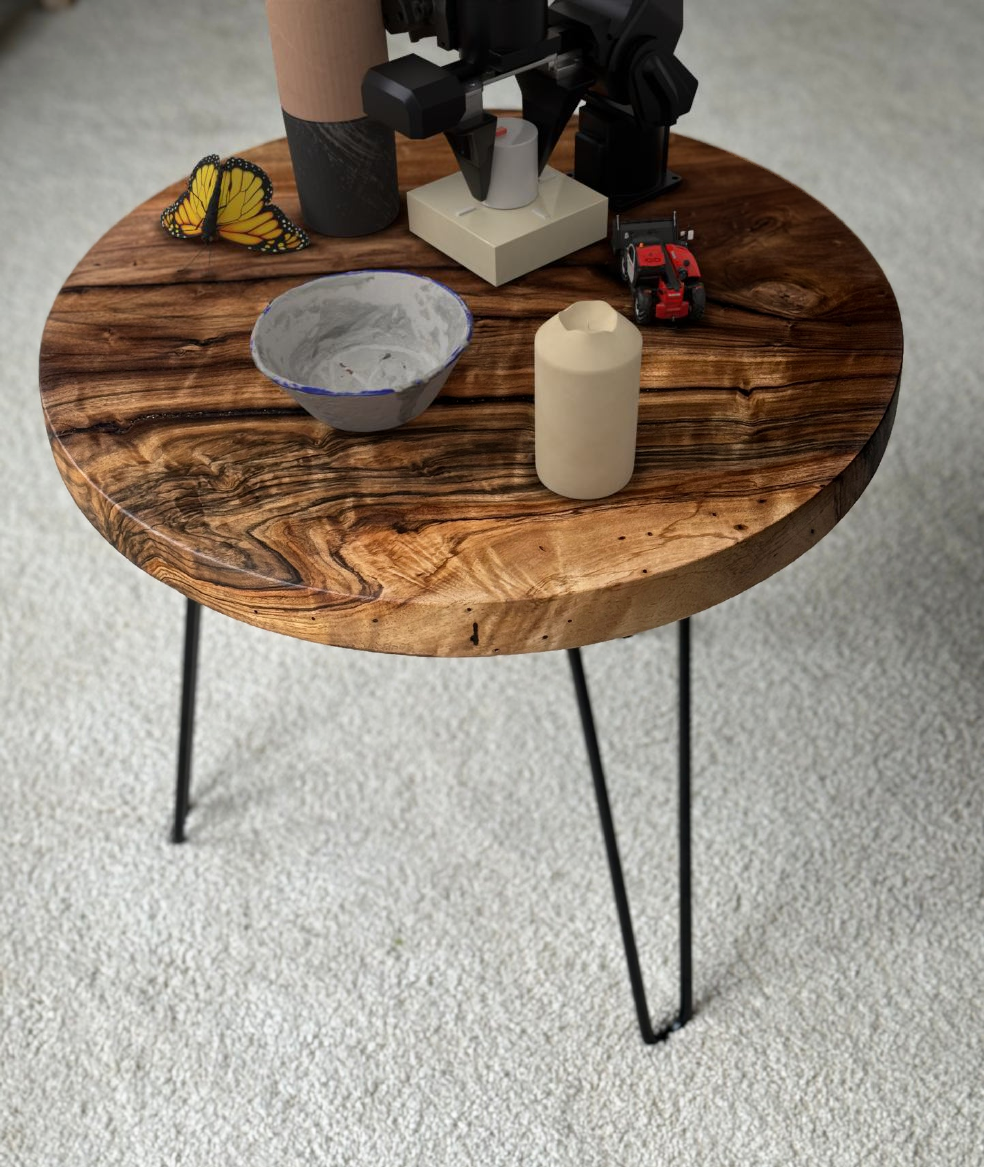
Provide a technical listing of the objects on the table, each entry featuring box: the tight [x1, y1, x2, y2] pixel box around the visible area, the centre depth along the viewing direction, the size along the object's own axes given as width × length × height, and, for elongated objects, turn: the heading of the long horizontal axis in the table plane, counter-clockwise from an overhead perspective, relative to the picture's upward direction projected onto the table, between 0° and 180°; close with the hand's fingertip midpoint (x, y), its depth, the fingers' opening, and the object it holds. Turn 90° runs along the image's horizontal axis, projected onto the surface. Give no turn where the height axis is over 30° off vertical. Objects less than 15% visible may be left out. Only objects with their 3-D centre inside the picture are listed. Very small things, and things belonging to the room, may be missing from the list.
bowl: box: [249, 269, 475, 433], centre depth 73 cm, size 13×13×5 cm
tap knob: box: [479, 116, 538, 209], centre depth 84 cm, size 4×4×5 cm
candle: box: [534, 300, 644, 500], centre depth 66 cm, size 6×6×10 cm
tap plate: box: [406, 164, 609, 288], centre depth 86 cm, size 10×10×3 cm
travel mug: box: [264, 0, 400, 238], centre depth 83 cm, size 8×8×20 cm
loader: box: [609, 210, 706, 325], centre depth 80 cm, size 12×5×5 cm, turn 5°
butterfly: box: [159, 153, 310, 278], centre depth 86 cm, size 12×9×5 cm
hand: (506, 187), depth 85 cm, fingers closed on tap knob, 4 cm apart
